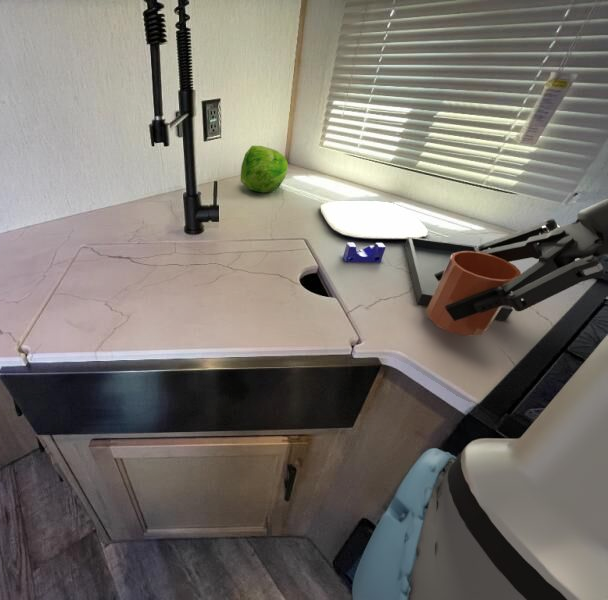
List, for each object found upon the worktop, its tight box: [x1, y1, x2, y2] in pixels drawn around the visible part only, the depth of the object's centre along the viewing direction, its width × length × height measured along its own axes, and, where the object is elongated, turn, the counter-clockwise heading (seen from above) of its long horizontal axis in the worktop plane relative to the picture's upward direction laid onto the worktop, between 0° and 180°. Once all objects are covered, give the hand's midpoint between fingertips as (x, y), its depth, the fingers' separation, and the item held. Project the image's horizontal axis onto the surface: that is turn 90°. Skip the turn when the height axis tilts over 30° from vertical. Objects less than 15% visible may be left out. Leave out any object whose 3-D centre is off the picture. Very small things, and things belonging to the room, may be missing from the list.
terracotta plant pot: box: [425, 251, 522, 337], centre depth 57 cm, size 9×9×11 cm
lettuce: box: [240, 145, 289, 194], centre depth 116 cm, size 15×20×14 cm
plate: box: [319, 200, 429, 241], centre depth 97 cm, size 25×25×2 cm
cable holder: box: [342, 242, 386, 264], centre depth 80 cm, size 8×4×4 cm, turn 89°
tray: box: [404, 237, 514, 322], centre depth 74 cm, size 26×15×3 cm, turn 161°
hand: (443, 296), depth 58 cm, fingers closed on terracotta plant pot, 9 cm apart
